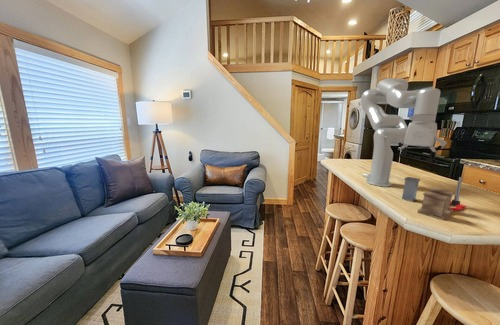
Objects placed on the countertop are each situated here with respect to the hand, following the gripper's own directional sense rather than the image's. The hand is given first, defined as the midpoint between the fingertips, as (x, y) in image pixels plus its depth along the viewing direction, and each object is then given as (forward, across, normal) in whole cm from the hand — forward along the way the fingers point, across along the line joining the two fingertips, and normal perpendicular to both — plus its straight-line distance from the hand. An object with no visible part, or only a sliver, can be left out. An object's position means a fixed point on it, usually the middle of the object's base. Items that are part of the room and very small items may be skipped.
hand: (416, 159), depth 93 cm
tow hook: (+19, +13, +5) cm, 24 cm away
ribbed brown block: (+19, +11, -8) cm, 23 cm away
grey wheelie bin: (+19, 0, 0) cm, 19 cm away
